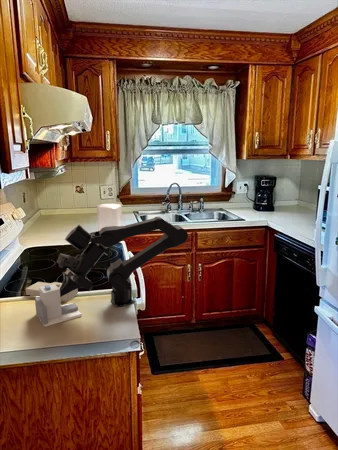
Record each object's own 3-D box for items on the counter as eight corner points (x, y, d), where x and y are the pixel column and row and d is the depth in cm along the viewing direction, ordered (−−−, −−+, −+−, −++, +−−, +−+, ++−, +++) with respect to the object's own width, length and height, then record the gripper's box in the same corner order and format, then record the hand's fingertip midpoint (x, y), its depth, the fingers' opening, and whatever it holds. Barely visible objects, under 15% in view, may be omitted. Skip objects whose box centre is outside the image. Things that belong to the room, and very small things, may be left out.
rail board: (71, 305, 119) (70, 289, 118) (81, 316, 111) (80, 299, 110) (36, 314, 112) (34, 297, 111) (44, 326, 104) (42, 308, 103)
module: (56, 309, 114) (54, 281, 112) (61, 315, 109) (59, 287, 107) (41, 313, 111) (39, 285, 109) (46, 319, 106) (43, 290, 104)
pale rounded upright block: (117, 241, 202) (116, 205, 197) (94, 241, 204) (92, 205, 199) (123, 235, 217) (122, 202, 212) (102, 235, 218) (100, 201, 214)
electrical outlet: (37, 279, 133) (77, 284, 128) (38, 289, 134) (78, 294, 129) (25, 286, 126) (66, 292, 121) (26, 296, 127) (67, 302, 122)
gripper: (62, 238, 117) (32, 274, 114) (81, 251, 102) (47, 293, 99) (85, 256, 123) (57, 291, 120) (106, 271, 108) (75, 311, 105)
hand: (58, 296), depth 111 cm, fingers closed, pressing on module
